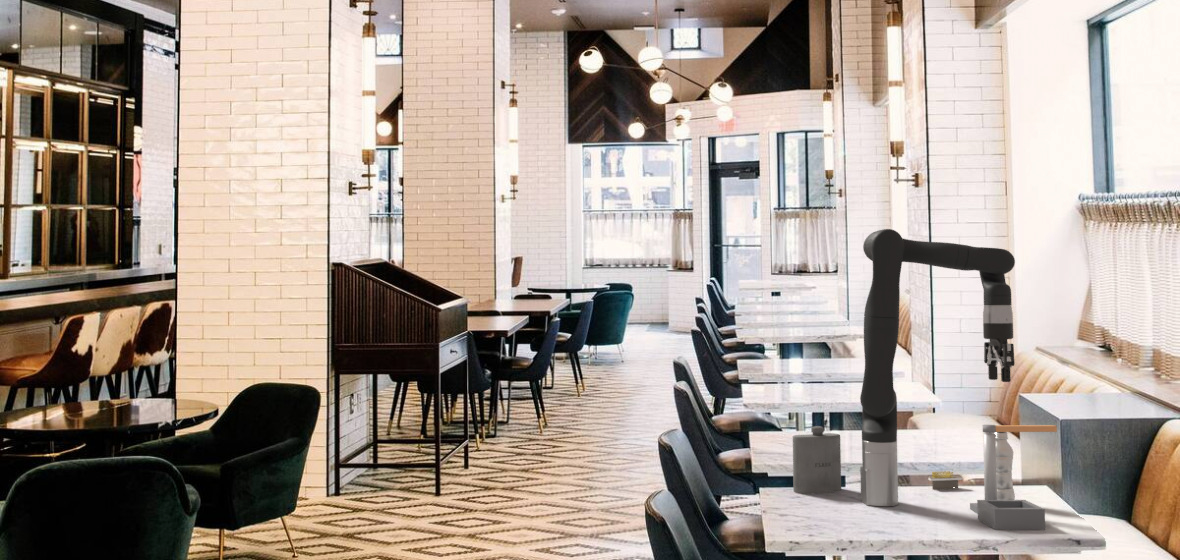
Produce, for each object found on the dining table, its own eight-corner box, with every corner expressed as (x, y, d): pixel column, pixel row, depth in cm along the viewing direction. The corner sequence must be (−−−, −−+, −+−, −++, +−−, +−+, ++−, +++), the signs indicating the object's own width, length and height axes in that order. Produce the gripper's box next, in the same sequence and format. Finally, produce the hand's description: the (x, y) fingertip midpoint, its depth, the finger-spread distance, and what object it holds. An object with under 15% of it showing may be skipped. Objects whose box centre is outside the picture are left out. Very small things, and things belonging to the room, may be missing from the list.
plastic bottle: (1014, 504, 252) (1012, 431, 253) (1015, 508, 246) (1013, 434, 247) (989, 502, 255) (987, 430, 255) (989, 507, 248) (987, 433, 249)
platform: (905, 491, 273) (904, 469, 273) (962, 489, 275) (961, 467, 275) (925, 499, 261) (924, 476, 261) (984, 497, 263) (983, 474, 263)
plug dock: (995, 529, 223) (993, 443, 224) (962, 510, 244) (960, 431, 245) (1045, 529, 222) (1043, 443, 223) (1007, 510, 244) (1006, 431, 245)
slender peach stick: (1052, 431, 242) (1052, 424, 242) (1058, 432, 238) (1057, 425, 238) (980, 431, 242) (980, 424, 243) (985, 432, 239) (985, 426, 239)
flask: (800, 499, 260) (799, 429, 261) (790, 495, 266) (789, 426, 267) (846, 496, 265) (845, 426, 266) (835, 492, 270) (834, 424, 271)
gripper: (1023, 322, 244) (1024, 382, 244) (1001, 321, 259) (1002, 378, 258) (994, 322, 245) (996, 382, 244) (974, 321, 259) (975, 379, 258)
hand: (999, 380), depth 251 cm, fingers open, 8 cm apart
